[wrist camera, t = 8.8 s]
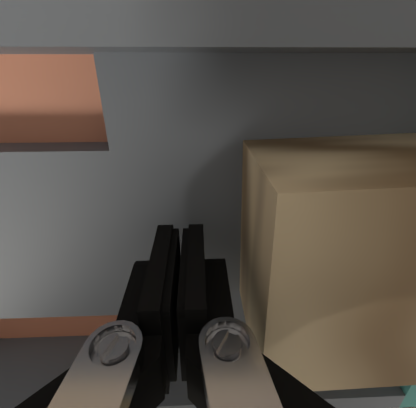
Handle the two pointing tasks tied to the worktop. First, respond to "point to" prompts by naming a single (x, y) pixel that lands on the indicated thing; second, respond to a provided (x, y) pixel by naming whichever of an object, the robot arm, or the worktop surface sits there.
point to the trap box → (165, 145)
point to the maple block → (332, 257)
